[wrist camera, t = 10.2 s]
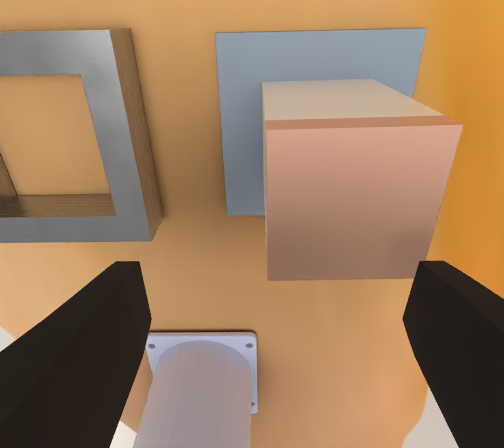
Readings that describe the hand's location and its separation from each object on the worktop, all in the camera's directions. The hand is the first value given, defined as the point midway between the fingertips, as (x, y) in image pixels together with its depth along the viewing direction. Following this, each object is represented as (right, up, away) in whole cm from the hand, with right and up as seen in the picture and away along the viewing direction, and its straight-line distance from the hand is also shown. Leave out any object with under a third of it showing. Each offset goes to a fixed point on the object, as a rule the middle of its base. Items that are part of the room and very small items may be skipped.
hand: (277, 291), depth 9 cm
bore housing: (-11, +6, +8) cm, 15 cm away
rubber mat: (+2, +6, +8) cm, 11 cm away
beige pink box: (+2, +6, +8) cm, 10 cm away
